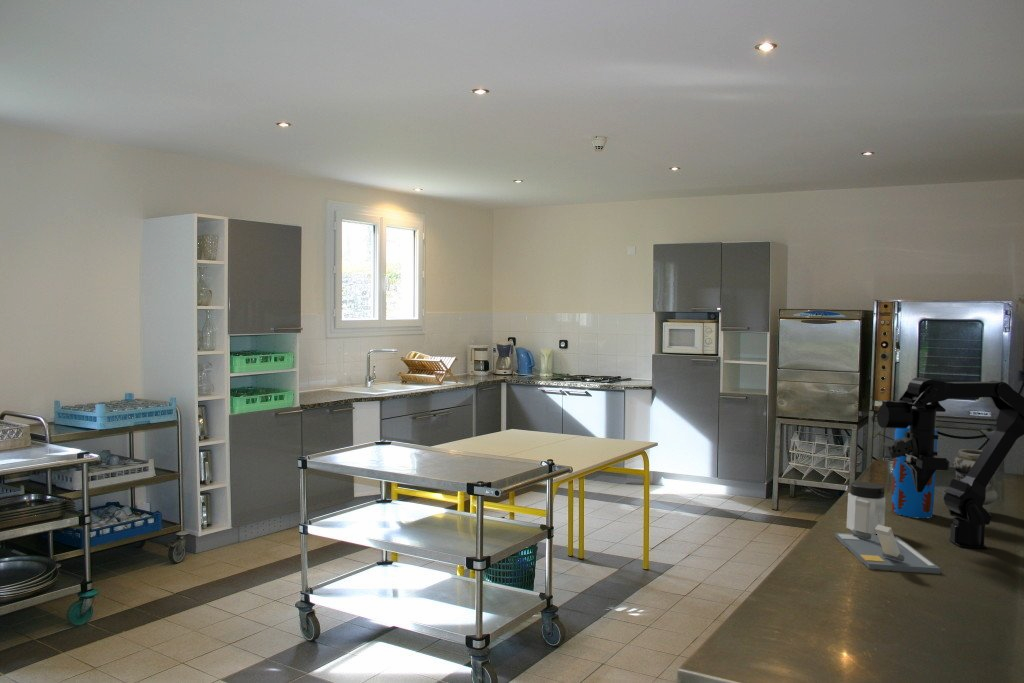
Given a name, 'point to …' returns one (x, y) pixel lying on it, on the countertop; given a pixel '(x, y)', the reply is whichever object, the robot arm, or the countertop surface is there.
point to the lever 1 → (862, 519)
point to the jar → (877, 506)
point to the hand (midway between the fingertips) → (918, 491)
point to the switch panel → (873, 558)
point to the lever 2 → (888, 543)
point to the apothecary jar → (965, 464)
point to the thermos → (910, 488)
